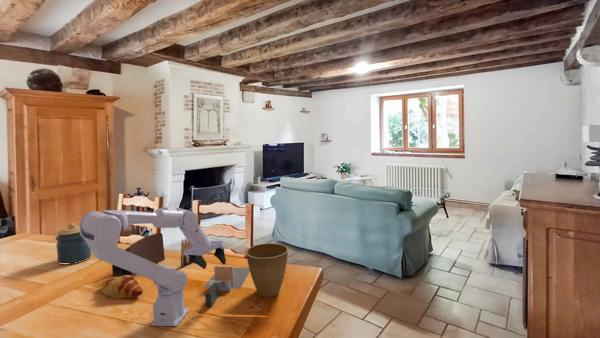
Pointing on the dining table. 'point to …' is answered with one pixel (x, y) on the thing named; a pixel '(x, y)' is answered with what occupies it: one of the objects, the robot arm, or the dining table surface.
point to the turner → (216, 291)
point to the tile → (224, 273)
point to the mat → (235, 277)
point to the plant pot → (267, 267)
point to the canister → (71, 245)
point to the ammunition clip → (184, 259)
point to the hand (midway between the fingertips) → (215, 264)
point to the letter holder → (144, 252)
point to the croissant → (121, 287)
